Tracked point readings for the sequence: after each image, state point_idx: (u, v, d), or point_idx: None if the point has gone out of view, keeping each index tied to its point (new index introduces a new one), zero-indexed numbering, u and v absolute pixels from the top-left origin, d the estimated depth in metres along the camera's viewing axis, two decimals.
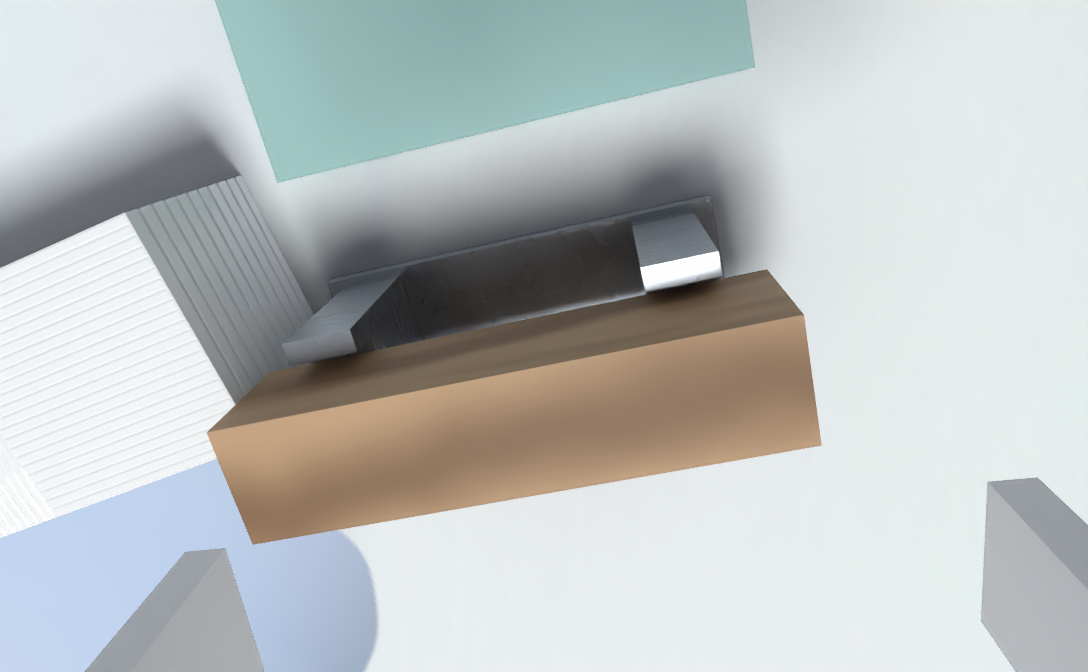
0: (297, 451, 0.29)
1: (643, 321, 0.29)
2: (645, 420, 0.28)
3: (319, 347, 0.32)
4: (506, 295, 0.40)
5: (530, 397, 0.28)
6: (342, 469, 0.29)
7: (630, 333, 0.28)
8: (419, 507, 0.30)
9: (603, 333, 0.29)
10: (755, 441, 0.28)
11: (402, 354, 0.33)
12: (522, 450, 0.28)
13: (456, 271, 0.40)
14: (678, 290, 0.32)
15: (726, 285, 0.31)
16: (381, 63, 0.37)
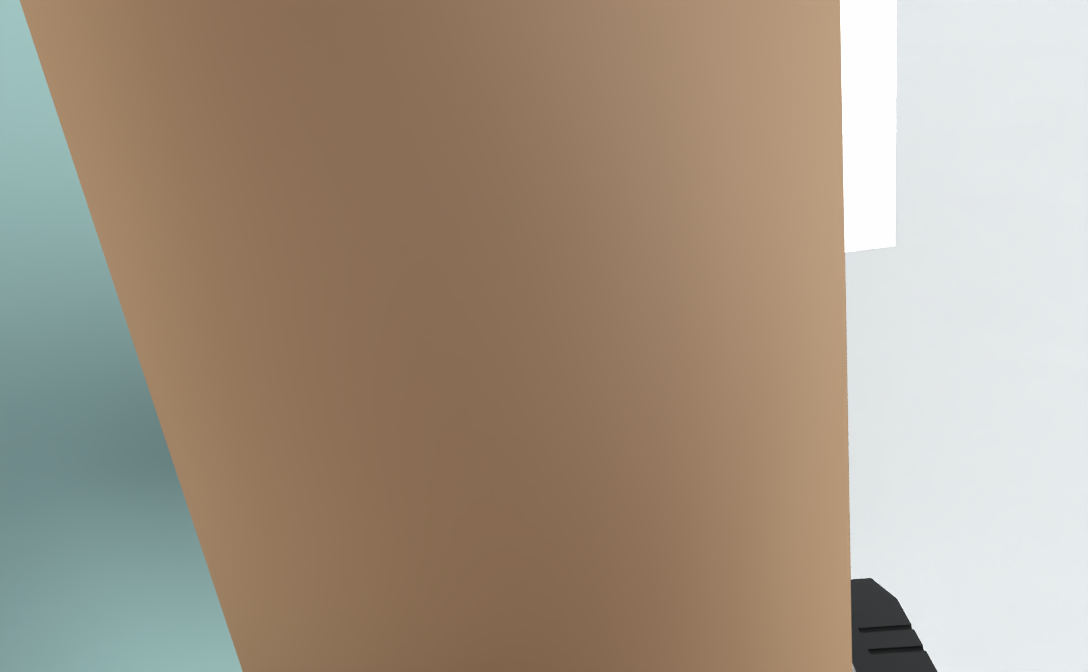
0: None
1: None
2: (551, 541, 0.06)
3: None
4: None
5: None
6: None
7: None
8: None
9: None
10: None
11: None
12: None
13: None
14: None
15: None
16: (136, 583, 0.23)
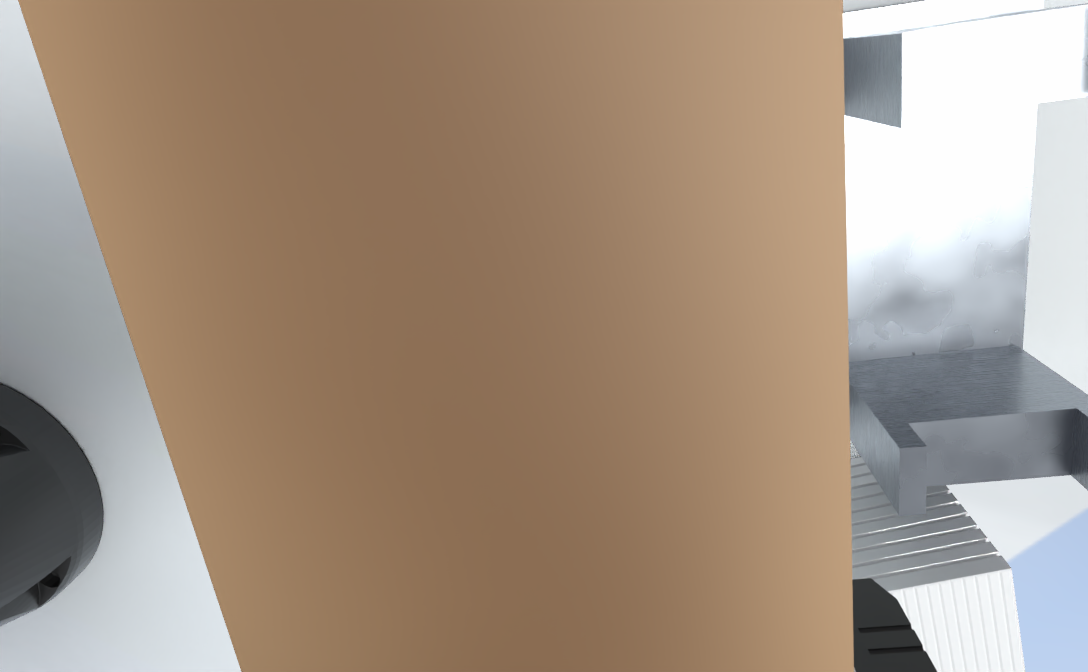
0: None
1: None
2: (551, 543, 0.06)
3: (912, 481, 0.30)
4: (884, 258, 0.36)
5: None
6: None
7: None
8: None
9: None
10: None
11: None
12: None
13: None
14: None
15: None
16: None
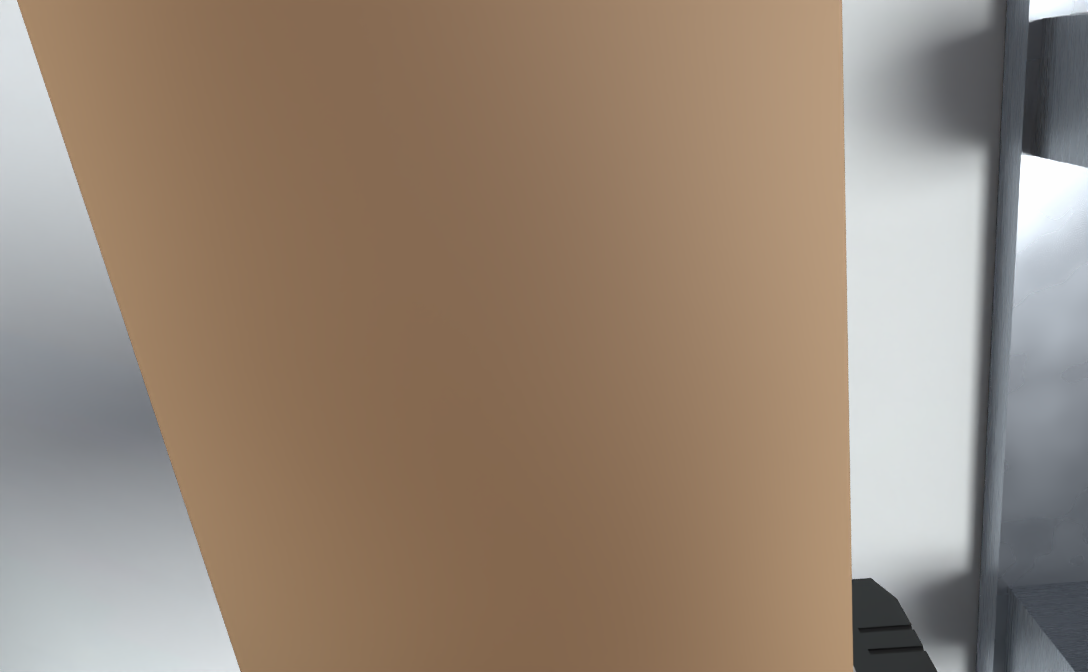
0: None
1: None
2: (551, 543, 0.06)
3: None
4: None
5: None
6: None
7: None
8: None
9: None
10: None
11: None
12: None
13: (1035, 498, 0.21)
14: None
15: None
16: None
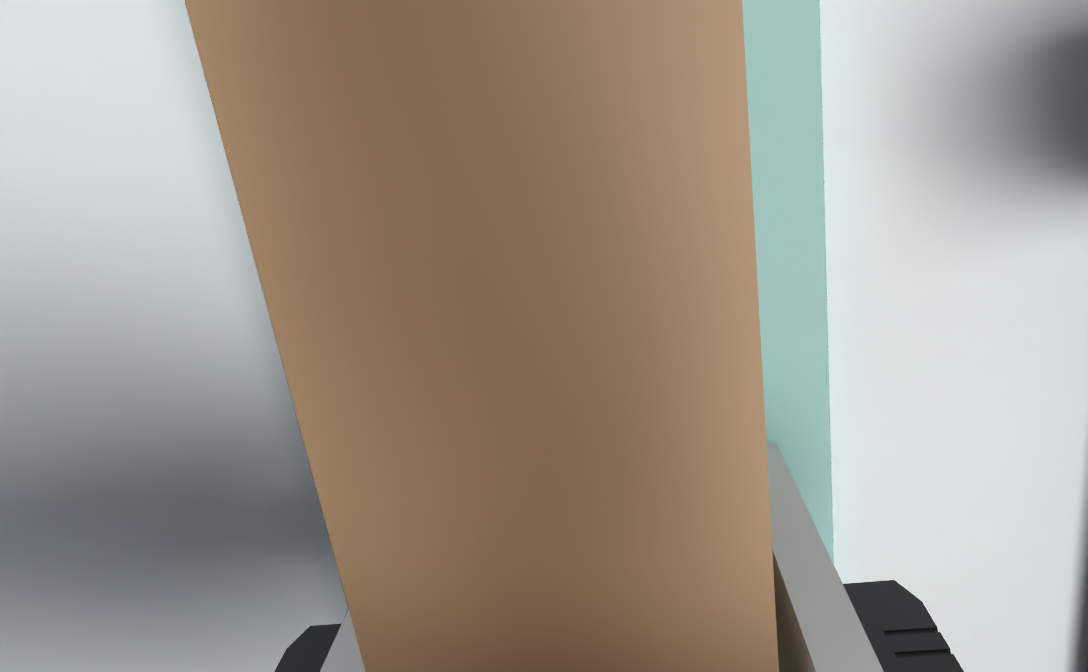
0: None
1: None
2: (552, 408, 0.08)
3: None
4: None
5: None
6: None
7: None
8: None
9: None
10: (672, 18, 0.07)
11: None
12: None
13: None
14: None
15: None
16: None
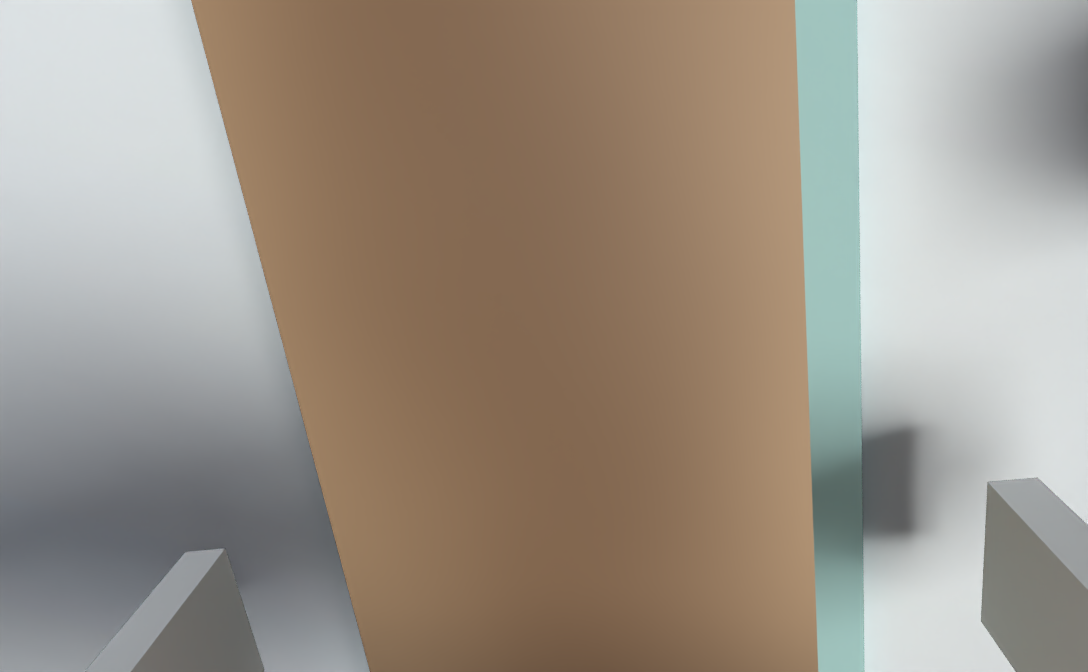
0: None
1: None
2: (581, 428, 0.08)
3: None
4: None
5: None
6: None
7: None
8: None
9: None
10: (718, 9, 0.06)
11: None
12: None
13: None
14: None
15: None
16: None
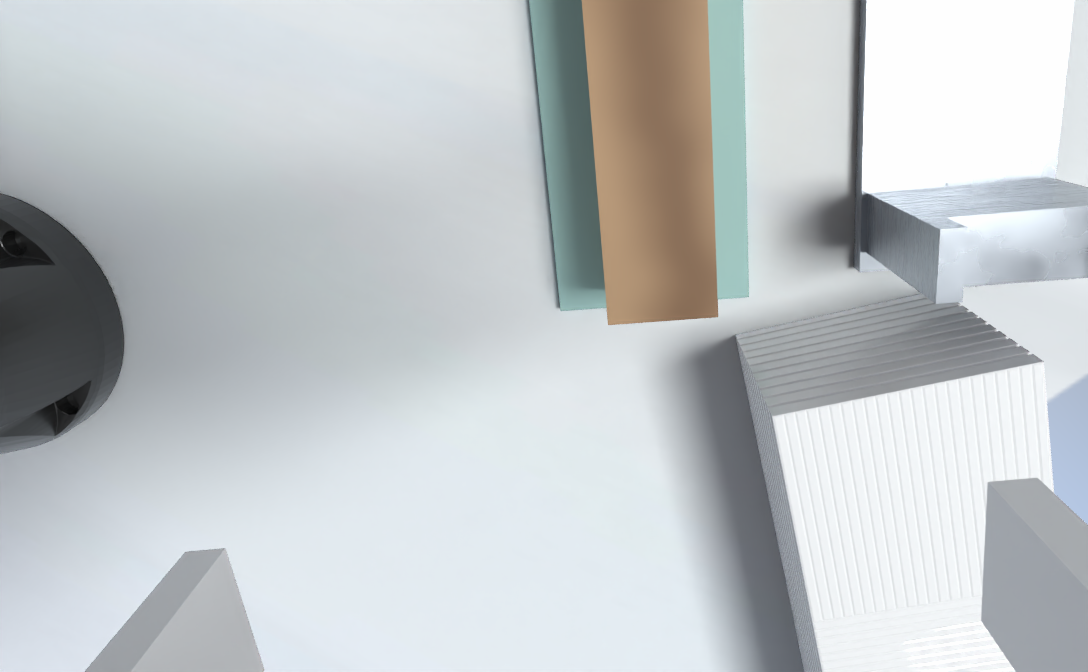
0: (634, 255, 0.35)
1: None
2: None
3: (951, 265, 0.30)
4: (922, 82, 0.37)
5: (611, 39, 0.32)
6: (657, 221, 0.34)
7: None
8: (704, 160, 0.33)
9: None
10: None
11: None
12: (661, 54, 0.32)
13: (881, 134, 0.37)
14: None
15: None
16: None
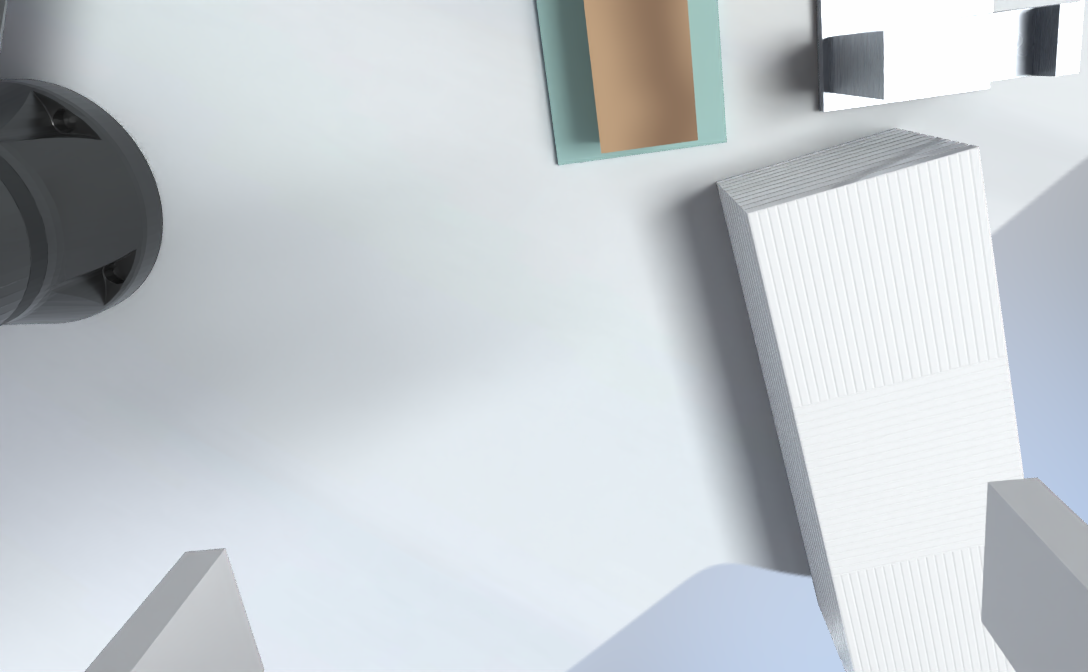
0: (622, 86, 0.39)
1: None
2: None
3: (895, 63, 0.35)
4: None
5: None
6: (640, 53, 0.39)
7: None
8: None
9: None
10: None
11: None
12: None
13: None
14: None
15: None
16: None
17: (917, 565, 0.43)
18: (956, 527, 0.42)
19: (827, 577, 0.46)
